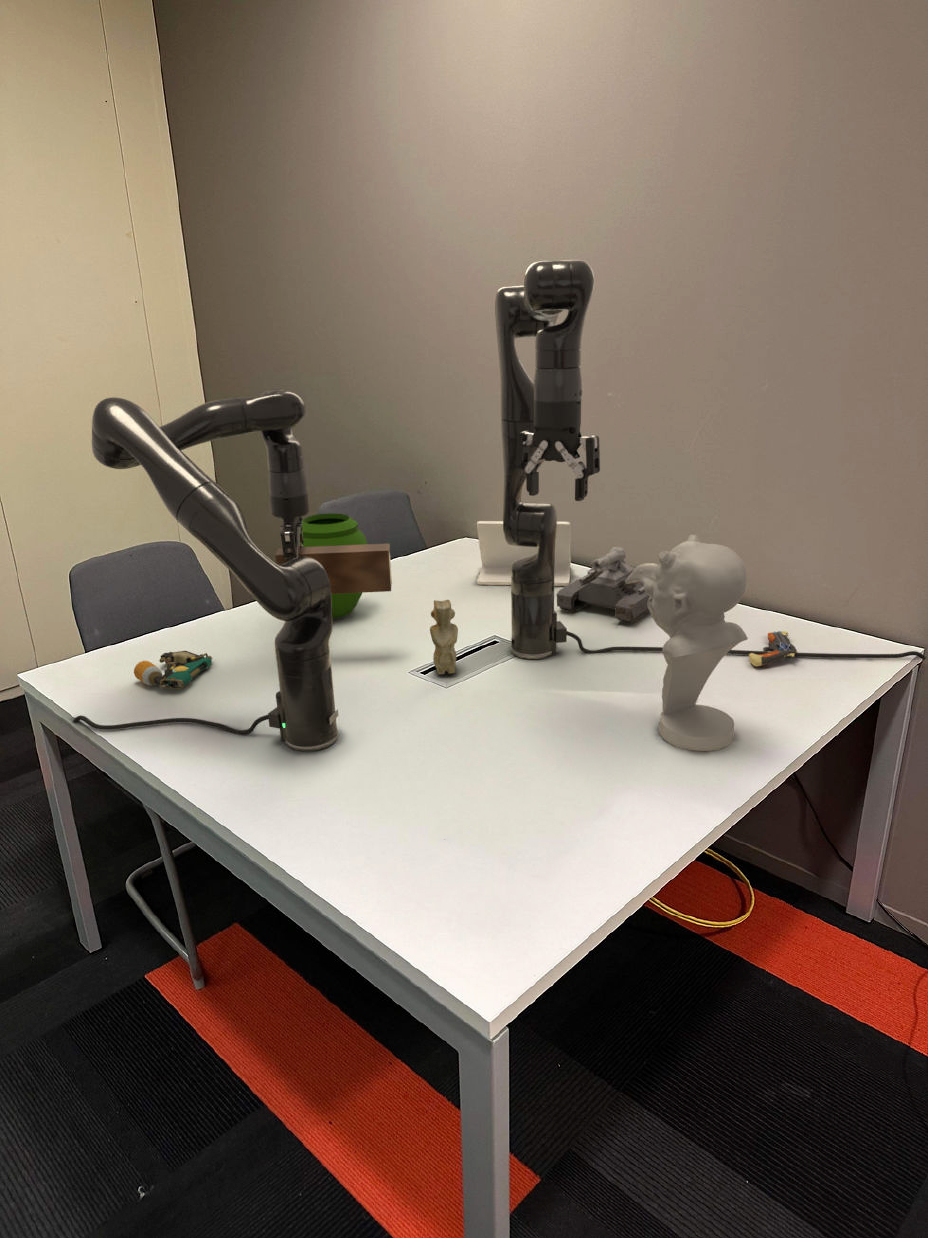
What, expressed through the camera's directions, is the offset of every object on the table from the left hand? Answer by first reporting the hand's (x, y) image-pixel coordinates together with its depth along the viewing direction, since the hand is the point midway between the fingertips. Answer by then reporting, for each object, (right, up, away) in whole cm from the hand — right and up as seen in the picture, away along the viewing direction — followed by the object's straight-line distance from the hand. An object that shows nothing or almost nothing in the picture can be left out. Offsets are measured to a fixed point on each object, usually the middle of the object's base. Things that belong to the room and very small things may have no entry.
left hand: (296, 571), depth 179 cm
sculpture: (+31, -21, +1) cm, 38 cm away
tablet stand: (+52, +2, +60) cm, 80 cm away
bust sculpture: (+73, -30, -26) cm, 83 cm away
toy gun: (+101, -17, +5) cm, 103 cm away
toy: (+73, -7, +36) cm, 82 cm away
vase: (+3, -9, +35) cm, 36 cm away
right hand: (+50, +10, -38) cm, 64 cm away
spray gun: (-25, -22, +2) cm, 34 cm away
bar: (+8, -4, +2) cm, 9 cm away
